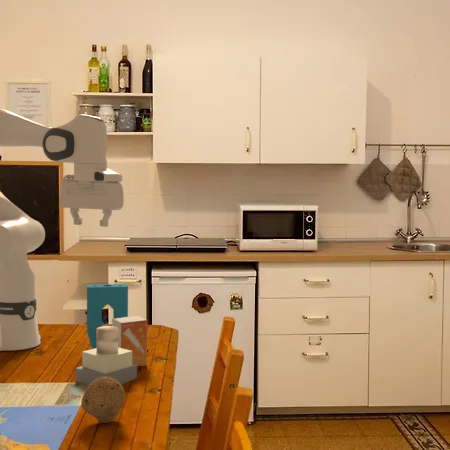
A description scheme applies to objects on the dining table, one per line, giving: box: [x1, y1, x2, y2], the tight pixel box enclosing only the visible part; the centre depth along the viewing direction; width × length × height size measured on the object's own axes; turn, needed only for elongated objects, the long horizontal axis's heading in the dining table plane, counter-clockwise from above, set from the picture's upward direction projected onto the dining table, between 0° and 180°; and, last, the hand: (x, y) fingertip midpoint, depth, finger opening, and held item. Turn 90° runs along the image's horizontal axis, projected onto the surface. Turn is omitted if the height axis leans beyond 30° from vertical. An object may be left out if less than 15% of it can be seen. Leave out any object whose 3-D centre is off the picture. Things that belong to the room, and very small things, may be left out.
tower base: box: [75, 364, 138, 386], centre depth 165 cm, size 11×11×4 cm
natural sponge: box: [81, 377, 126, 424], centre depth 136 cm, size 9×9×10 cm
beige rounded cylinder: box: [97, 325, 118, 354], centre depth 164 cm, size 6×6×6 cm
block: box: [86, 283, 129, 349], centre depth 191 cm, size 12×5×20 cm, turn 101°
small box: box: [111, 315, 148, 367], centre depth 178 cm, size 8×6×13 cm
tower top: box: [81, 347, 132, 374], centre depth 164 cm, size 9×9×4 cm
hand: (90, 225), depth 173 cm, fingers open, 8 cm apart
